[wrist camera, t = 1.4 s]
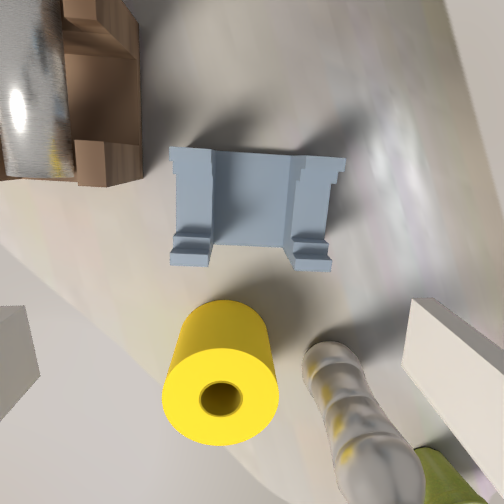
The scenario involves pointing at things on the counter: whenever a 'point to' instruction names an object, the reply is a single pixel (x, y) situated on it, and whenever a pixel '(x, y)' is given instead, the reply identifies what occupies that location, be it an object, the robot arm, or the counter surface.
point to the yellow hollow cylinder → (221, 375)
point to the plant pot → (444, 481)
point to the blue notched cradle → (252, 204)
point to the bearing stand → (101, 93)
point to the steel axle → (34, 91)
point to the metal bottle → (360, 431)
